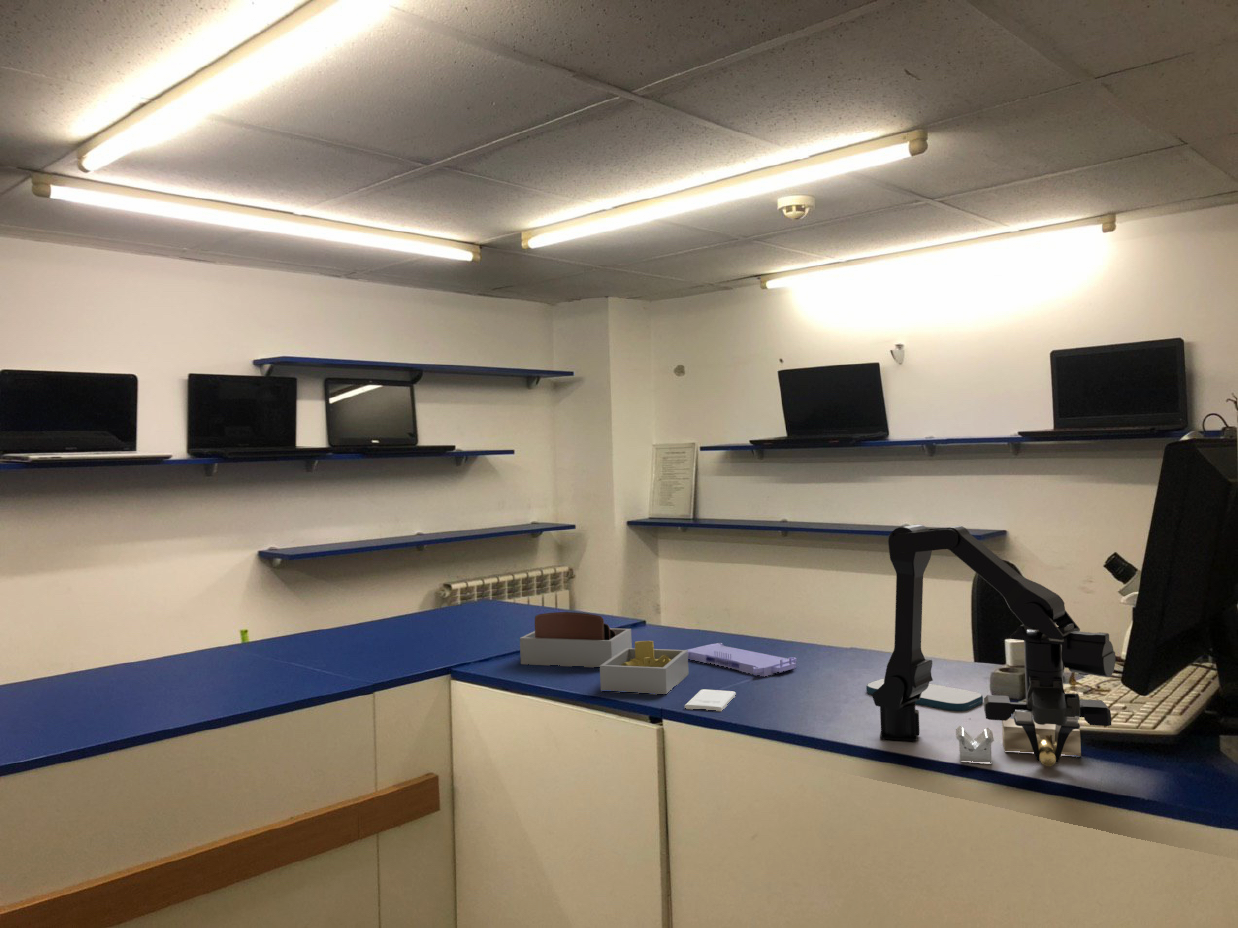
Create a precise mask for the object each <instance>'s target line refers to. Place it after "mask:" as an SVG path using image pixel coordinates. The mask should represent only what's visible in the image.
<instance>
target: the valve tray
mask: <svg viewBox="0 0 1238 928" xmlns="http://www.w3.org/2000/svg"><path fill="white" fill-rule="evenodd" d="M663 655H666V656H668V657H669V659H671V661H670V662H669V663H668V664H666V665H665V666H664V667H641V666H621V664H622V663H625V662H629V661H630V660H631V659H634V658H635V647H634V648H633V647H632V648H626V649H624V650H623V651H621V652H620V653H618V654H617V655H615V656H614V657H612V658H611V659H609V660H608V661H606V662H605V663H603V664H602V665H600V668H599V681H600V691H601V690H611V691H613V690H614V691H626V692H638V693H637V694H639V693H640V692H641V693H652V694H651V695H657V694H667V693H668V692H669V691H670V690H672V688H673V687H674V686H676V685H677V686H678V685H679V684H680V683H681V682H682V681H683V680H684V679H686V677H687V676H689V660H688V649H667V648H664V649H663V648H661V649H660V648H654V659H659V658H660V657H661V656H663ZM677 686H676V687H677ZM672 691H673V690H672ZM670 692H671V691H670ZM670 692H669V693H670ZM653 693H655V694H653ZM669 693H668V694H669ZM668 694H667V695H668Z"/></svg>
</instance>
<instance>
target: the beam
mask: <svg viewBox="0 0 1238 928" xmlns="http://www.w3.org/2000/svg"><path fill="white" fill-rule="evenodd" d="M1033 721H1034V719H1033ZM1034 723H1035V722H1034ZM1055 726H1056V724H1045V725H1040V724H1037V723H1035V730H1036V734H1042V735H1049V737H1050V740H1051V744H1052V747H1053V751H1054V743H1055ZM1001 730H1002V732H1001V733H1002V745H1003V746H1004V747H1003V750H1005V751H1020V752H1034V751H1033V748H1032V746H1031V743H1030V740H1029V738H1028V736H1027V734H1026V732H1025V730H1024V729H1023V727H1022V726H1017V725H1015V722H1014V719H1013V718H1009V719H1008V720H1007V721H1002V720H1001ZM1081 750H1082V748H1081V730H1080V729H1073V730H1072V732H1071V733H1070V734H1069V736H1068V738H1067V739H1066V742H1065V744H1064V747H1063V750H1062V753H1061V754H1065V755H1078V756H1081V757H1082V751H1081ZM1005 751H1004V752H1005Z"/></svg>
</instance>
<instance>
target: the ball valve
mask: <svg viewBox="0 0 1238 928" xmlns="http://www.w3.org/2000/svg"><path fill="white" fill-rule="evenodd" d="M654 643H655V642H654V640H639V641H638V640H637V641H635V642H634V648H635V658H634V659H631V660H630V661H629V662H625V663H622V664H621V666H641V667H664V666H665V665H666V664H668V663H669V662H670V661H671V659H669V657H668V656H666V655H663V656H661V657H660V658H659V659H654V649H655V648H654V647H655V645H654Z"/></svg>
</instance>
